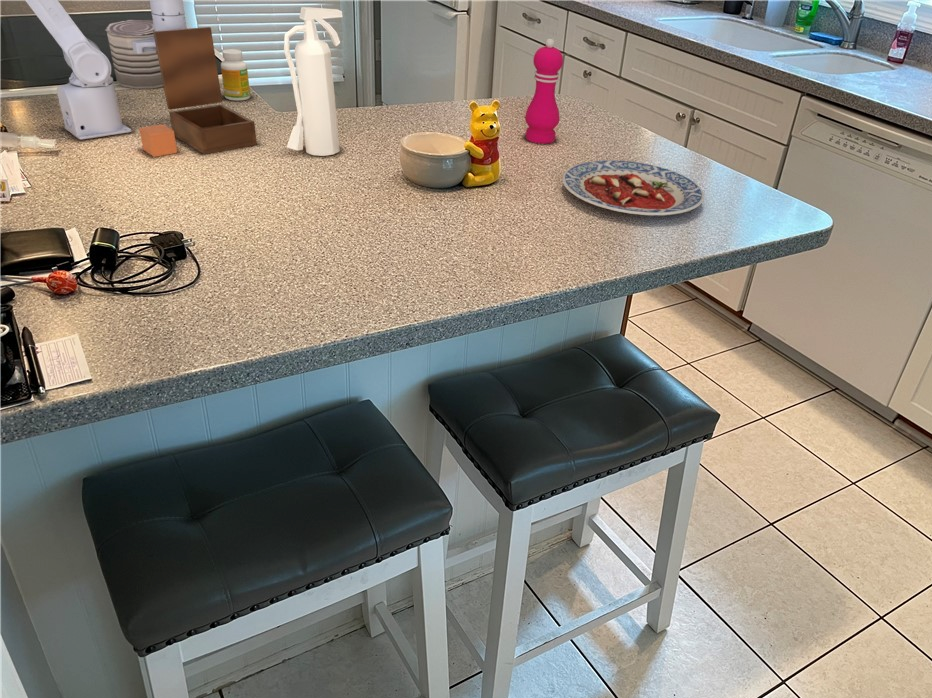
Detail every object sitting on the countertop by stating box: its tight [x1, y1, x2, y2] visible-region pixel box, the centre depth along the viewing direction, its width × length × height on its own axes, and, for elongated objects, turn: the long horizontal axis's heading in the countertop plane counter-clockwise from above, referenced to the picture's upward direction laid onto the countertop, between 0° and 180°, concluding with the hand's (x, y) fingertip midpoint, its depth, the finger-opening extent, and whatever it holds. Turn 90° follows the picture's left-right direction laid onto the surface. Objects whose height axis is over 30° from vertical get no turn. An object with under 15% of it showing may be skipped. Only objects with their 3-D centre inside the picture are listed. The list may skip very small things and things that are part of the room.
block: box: [138, 123, 178, 158], centre depth 139 cm, size 4×4×4 cm
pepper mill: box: [524, 38, 564, 145], centre depth 159 cm, size 7×7×20 cm
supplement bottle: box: [220, 48, 251, 102], centre depth 168 cm, size 5×5×10 cm
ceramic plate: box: [561, 159, 705, 216], centre depth 140 cm, size 26×26×3 cm
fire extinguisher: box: [283, 6, 343, 157], centre depth 140 cm, size 7×12×25 cm, turn 123°
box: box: [169, 104, 258, 155], centre depth 147 cm, size 13×11×4 cm
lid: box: [153, 26, 223, 111], centre depth 145 cm, size 14×11×1 cm
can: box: [104, 19, 164, 90], centre depth 171 cm, size 11×11×12 cm
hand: (180, 88), depth 151 cm, fingers closed
